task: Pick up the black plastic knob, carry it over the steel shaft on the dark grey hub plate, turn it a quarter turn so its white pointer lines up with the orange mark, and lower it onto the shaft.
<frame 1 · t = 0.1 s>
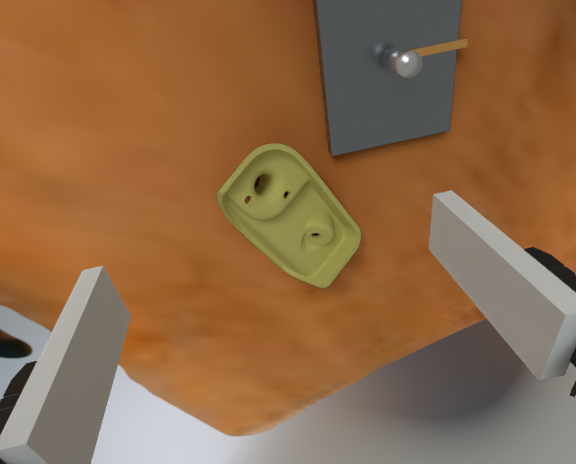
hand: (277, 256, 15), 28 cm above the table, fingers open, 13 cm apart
hub plate: (385, 56, 38), on the table
plastic component: (286, 204, 46), on the table
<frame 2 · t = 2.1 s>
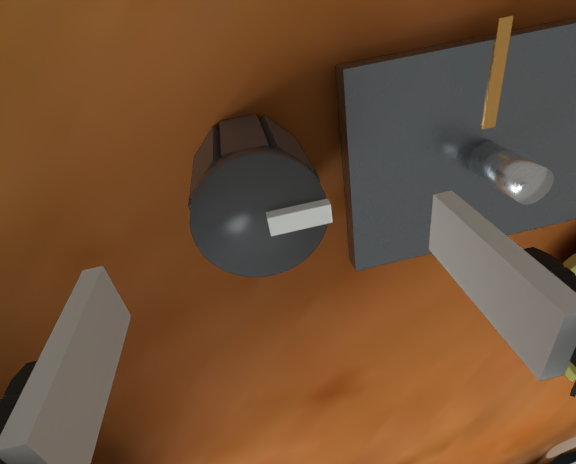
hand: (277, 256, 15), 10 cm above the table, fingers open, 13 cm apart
knob: (249, 169, 23), on the table
hub plate: (469, 149, 25), on the table
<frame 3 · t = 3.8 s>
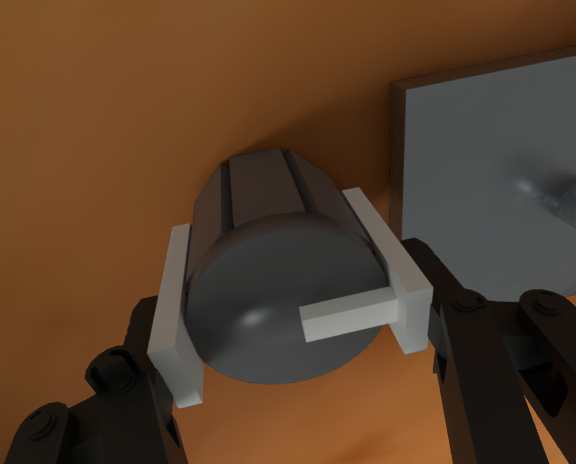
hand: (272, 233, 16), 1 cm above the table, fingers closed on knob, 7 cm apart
knob: (268, 216, 17), on the table, touching gripper
hub plate: (553, 188, 19), on the table
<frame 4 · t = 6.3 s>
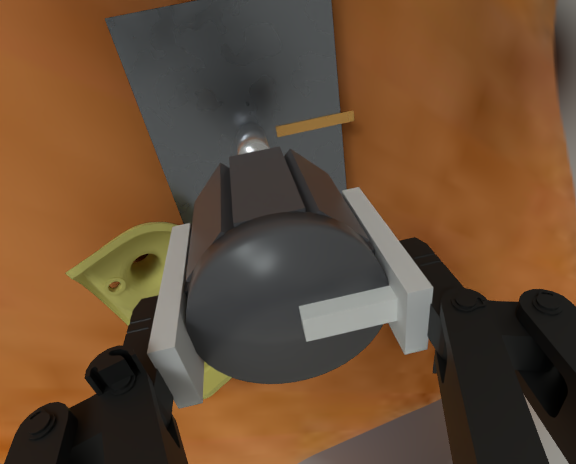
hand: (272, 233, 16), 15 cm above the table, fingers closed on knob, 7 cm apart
knob: (268, 215, 17), point 13 cm above the table, touching gripper
hub plate: (249, 131, 28), on the table
plastic component: (181, 284, 36), on the table
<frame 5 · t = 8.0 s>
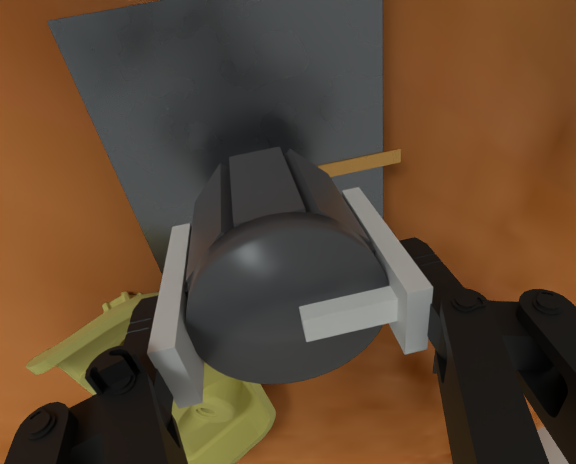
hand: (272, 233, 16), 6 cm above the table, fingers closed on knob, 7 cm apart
knob: (268, 216, 17), point 5 cm above the table, touching gripper
hub plate: (257, 173, 21), on the table
plastic component: (178, 349, 29), on the table
when the fingers open (4 cm above the table, at t = 9.1 s): knob drops 1 cm, resting on hub plate.
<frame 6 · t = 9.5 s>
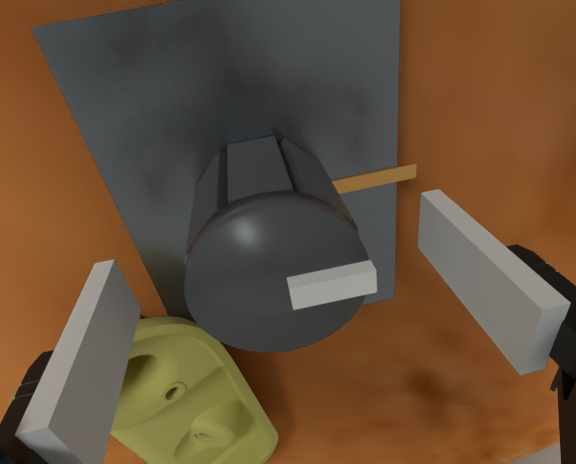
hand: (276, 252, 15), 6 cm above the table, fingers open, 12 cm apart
knob: (264, 201, 18), point 2 cm above the table, touching hub plate
hub plate: (262, 189, 20), on the table
plastic component: (176, 370, 27), on the table
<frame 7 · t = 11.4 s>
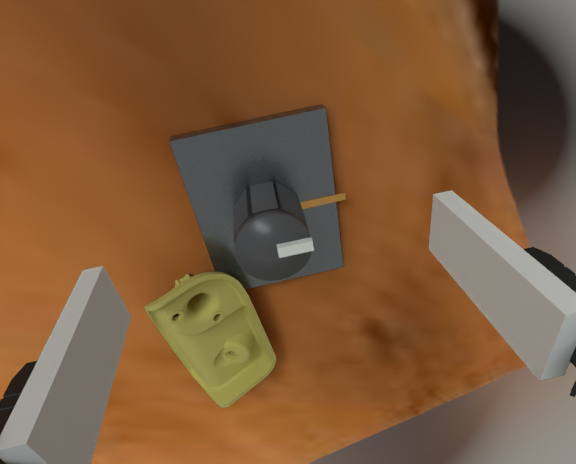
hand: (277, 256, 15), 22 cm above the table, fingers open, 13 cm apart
knob: (267, 212, 36), point 2 cm above the table, touching hub plate
hub plate: (266, 206, 38), on the table
plastic component: (214, 313, 45), on the table
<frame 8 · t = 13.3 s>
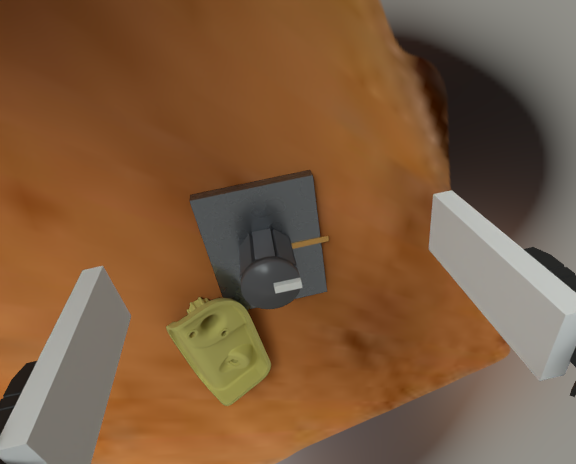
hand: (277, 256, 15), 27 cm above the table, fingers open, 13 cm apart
knob: (266, 251, 45), point 2 cm above the table, touching hub plate
hub plate: (265, 244, 47), on the table
plastic component: (220, 328, 54), on the table
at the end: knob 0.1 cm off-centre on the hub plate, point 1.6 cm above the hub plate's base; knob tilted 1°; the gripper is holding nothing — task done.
